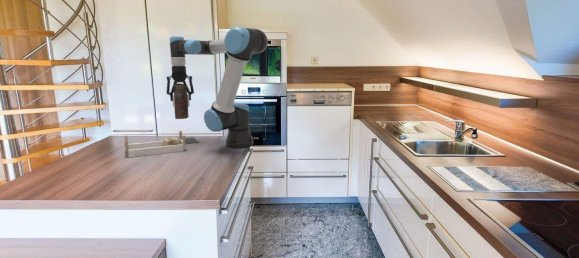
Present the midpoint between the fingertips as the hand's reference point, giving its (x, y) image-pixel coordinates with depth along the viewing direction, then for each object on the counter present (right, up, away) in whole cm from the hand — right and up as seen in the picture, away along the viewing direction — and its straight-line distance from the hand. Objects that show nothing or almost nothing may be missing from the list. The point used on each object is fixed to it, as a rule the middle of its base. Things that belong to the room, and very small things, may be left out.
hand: (181, 106), depth 186 cm
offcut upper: (-1, -21, -13) cm, 25 cm away
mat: (0, -20, +4) cm, 20 cm away
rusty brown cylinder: (0, -7, +2) cm, 7 cm away
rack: (-8, -24, -16) cm, 30 cm away
